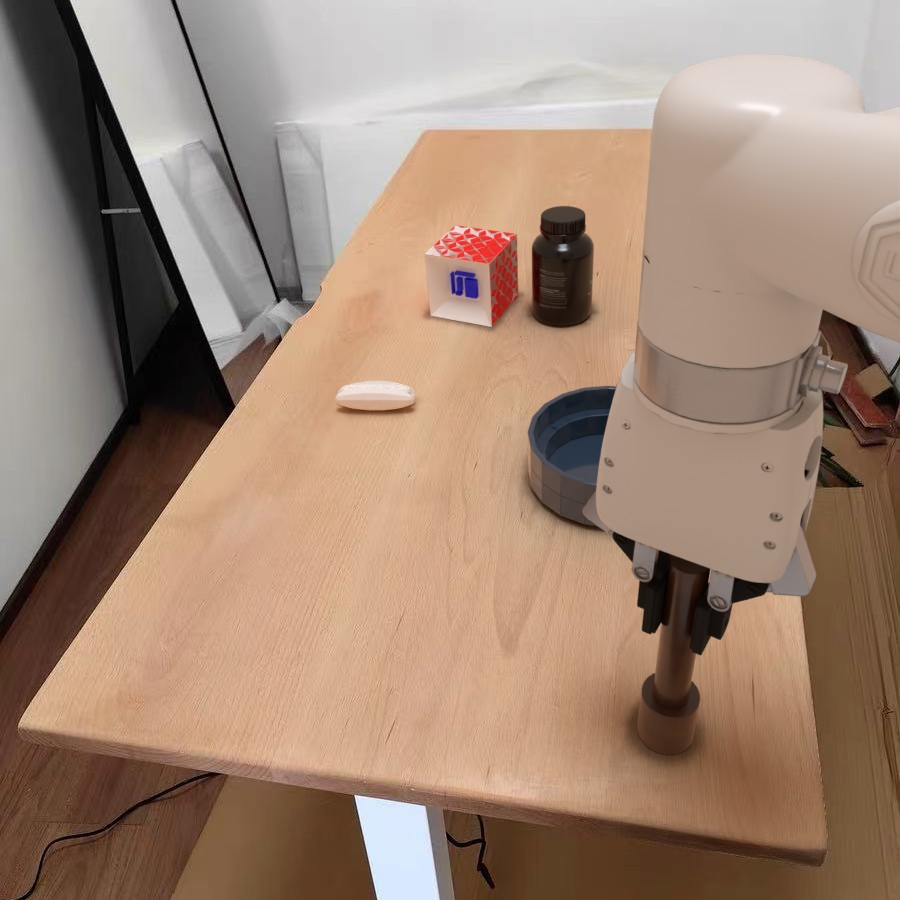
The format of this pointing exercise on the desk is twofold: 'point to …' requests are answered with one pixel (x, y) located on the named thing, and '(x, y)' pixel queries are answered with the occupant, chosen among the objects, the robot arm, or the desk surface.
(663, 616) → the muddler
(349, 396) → the sandwich bun
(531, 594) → the desk surface
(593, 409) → the bowl
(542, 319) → the supplement bottle
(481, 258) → the puzzle cube
